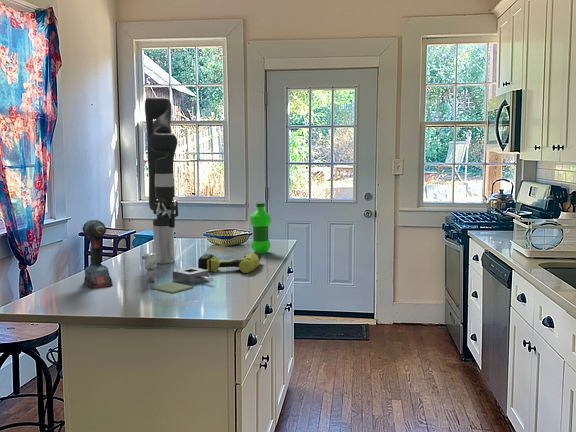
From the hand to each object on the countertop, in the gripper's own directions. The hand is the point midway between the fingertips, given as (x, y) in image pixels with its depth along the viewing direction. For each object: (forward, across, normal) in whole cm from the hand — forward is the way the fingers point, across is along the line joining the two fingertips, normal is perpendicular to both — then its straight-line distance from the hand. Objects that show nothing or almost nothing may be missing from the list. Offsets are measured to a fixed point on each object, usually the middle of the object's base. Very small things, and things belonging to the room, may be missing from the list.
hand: (165, 226), depth 225 cm
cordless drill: (+22, -1, +34) cm, 40 cm away
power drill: (+22, -14, -22) cm, 34 cm away
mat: (+22, +12, -6) cm, 26 cm away
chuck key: (+22, -3, -6) cm, 23 cm away
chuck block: (+22, +10, +7) cm, 25 cm away
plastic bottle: (+22, -20, +67) cm, 73 cm away
